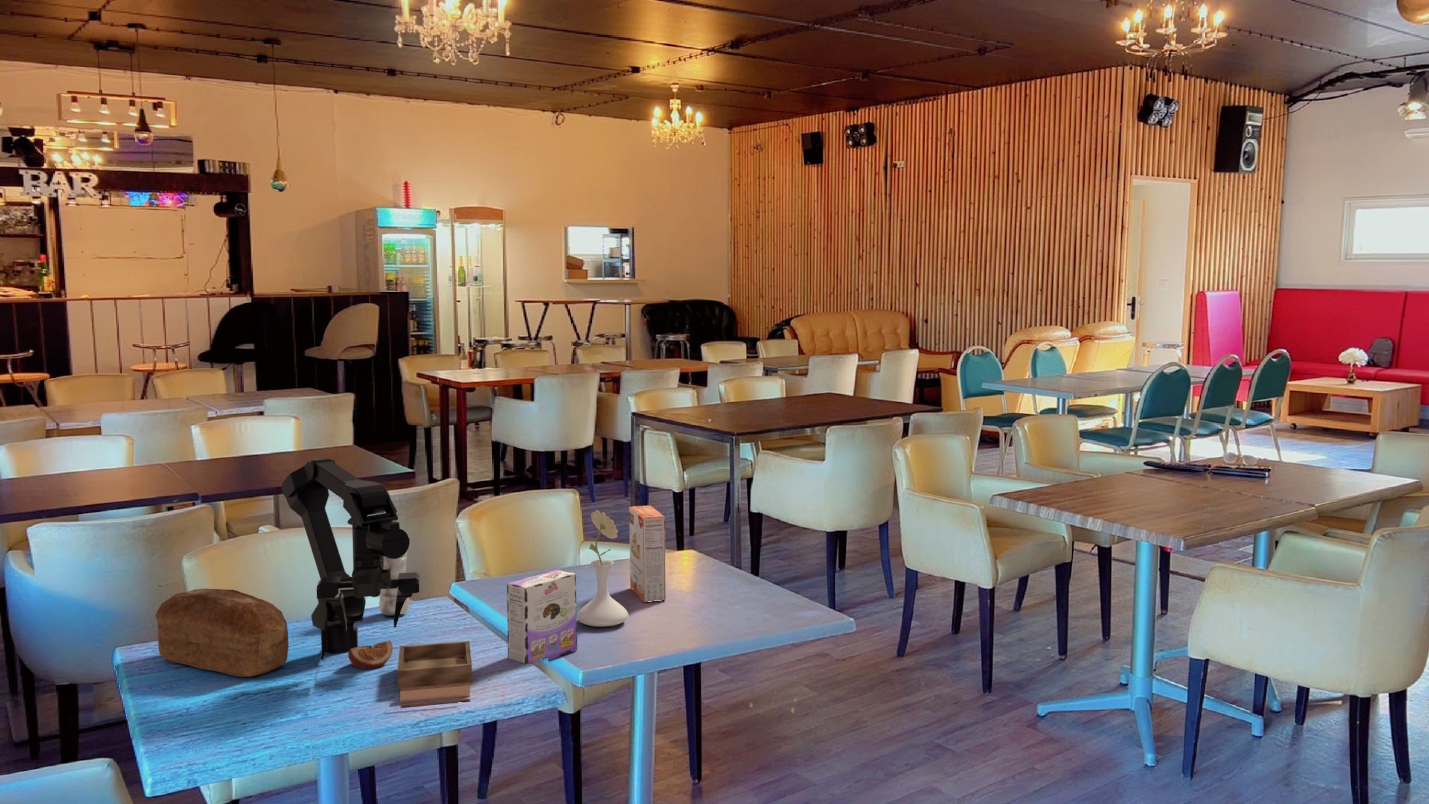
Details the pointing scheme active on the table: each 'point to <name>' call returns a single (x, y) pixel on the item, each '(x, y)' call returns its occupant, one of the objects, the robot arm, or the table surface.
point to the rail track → (434, 694)
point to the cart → (434, 664)
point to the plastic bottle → (390, 595)
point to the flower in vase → (602, 583)
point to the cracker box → (647, 553)
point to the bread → (222, 632)
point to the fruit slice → (370, 655)
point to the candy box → (542, 616)
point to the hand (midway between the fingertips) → (370, 628)
